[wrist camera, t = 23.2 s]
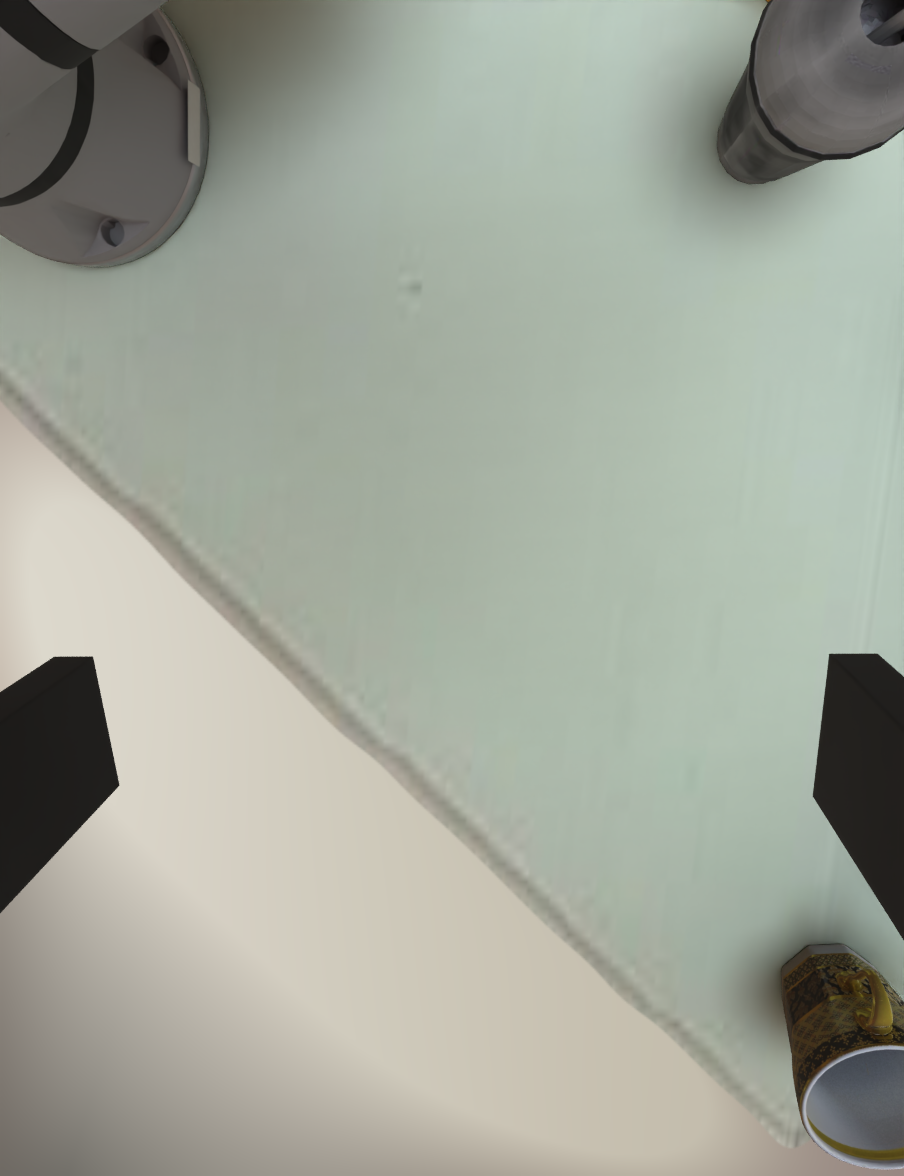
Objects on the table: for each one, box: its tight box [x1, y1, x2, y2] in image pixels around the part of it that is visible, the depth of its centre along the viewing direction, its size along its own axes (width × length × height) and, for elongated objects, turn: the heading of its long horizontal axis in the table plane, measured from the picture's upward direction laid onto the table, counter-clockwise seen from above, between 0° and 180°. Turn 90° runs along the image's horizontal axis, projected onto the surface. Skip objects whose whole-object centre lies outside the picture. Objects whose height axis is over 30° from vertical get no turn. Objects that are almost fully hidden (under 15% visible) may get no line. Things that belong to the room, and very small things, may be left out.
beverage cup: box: [717, 0, 904, 184], centre depth 30 cm, size 7×7×20 cm
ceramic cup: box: [781, 944, 904, 1169], centre depth 50 cm, size 13×10×10 cm
